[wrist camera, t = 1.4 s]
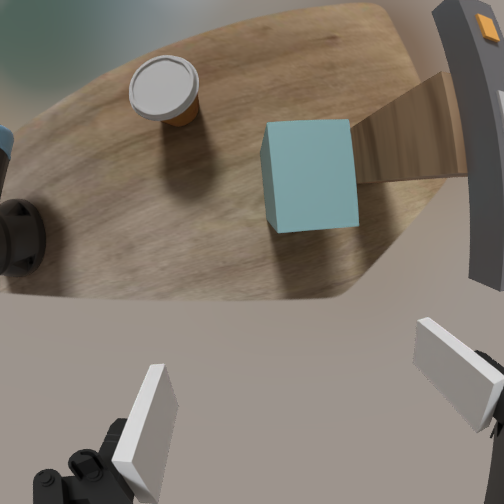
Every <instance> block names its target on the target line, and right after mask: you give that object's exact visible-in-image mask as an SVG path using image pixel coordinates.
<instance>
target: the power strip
mask: <svg viewBox="0 0 504 504" xmlns="http://www.w3.org/2000/svg"><path fill="white" fill-rule="evenodd" d="M432 15H433V18H434V20H435V23H436V26H437V29H438V32H439V35H440V38H441V41H442V44H443V47H444V51H445V54H446V58H447V61H448V65H449V69H450V73H451V77H452V81H453V85H454V89H455V94H456V99H457V103H458V108H459V114H460V119H461V125H462V132H463V138H464V145H465V153H466V162H467V173H468V185H469V203H470V261H469V278H470V279H472V280H475V281H477V282H479V283H482V284H484V285H486V286H489V287H491V288H493V289H495V290H498V291H504V38H503V35H502V33H501V30H500V28H499V25H498V22H497V20H496V18H495V15H494V13H493V11H492V9H491V6H490V5H488V4H486V3H483V2H481V1H479V0H444V1H443V2H442V3H441V4H440V5H439V6H437V7H436V8H435V9H434V10H433V11H432Z"/></svg>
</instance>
